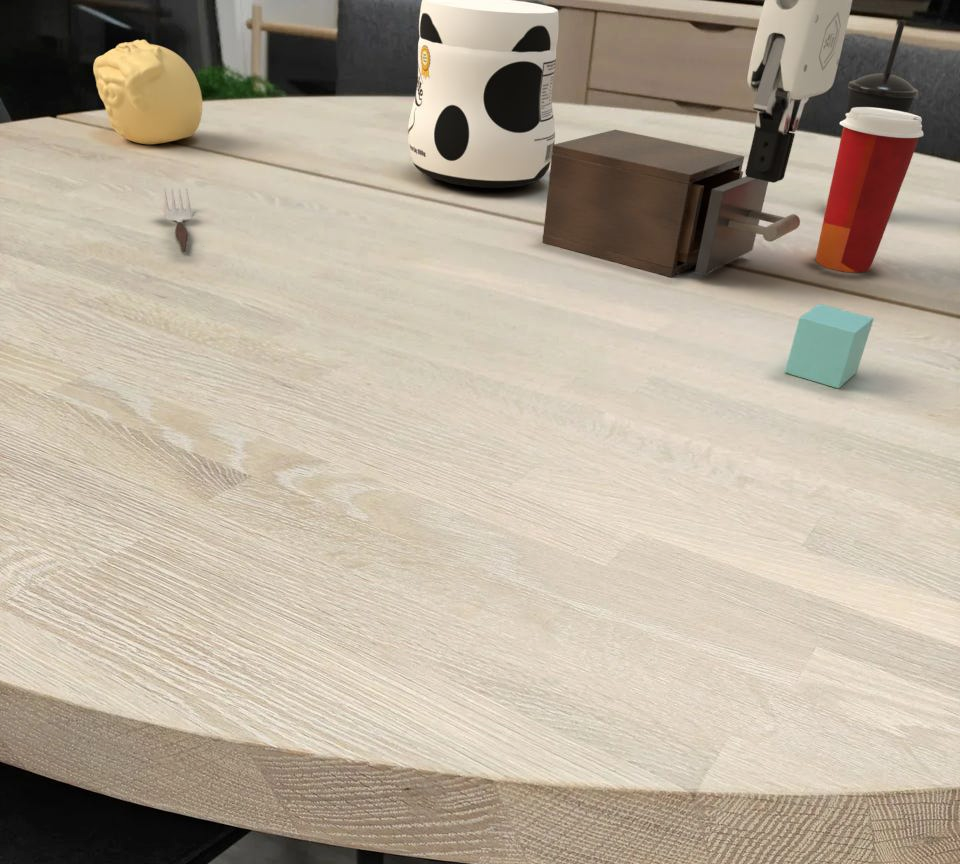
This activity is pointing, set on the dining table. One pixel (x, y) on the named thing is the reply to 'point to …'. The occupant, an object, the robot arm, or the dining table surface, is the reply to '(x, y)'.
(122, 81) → the sculpture
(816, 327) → the teal cube
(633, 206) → the cabinet
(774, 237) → the drawer
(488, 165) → the milk container
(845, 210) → the paper cup
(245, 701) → the dining table surface
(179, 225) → the fork
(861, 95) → the drinking cup
